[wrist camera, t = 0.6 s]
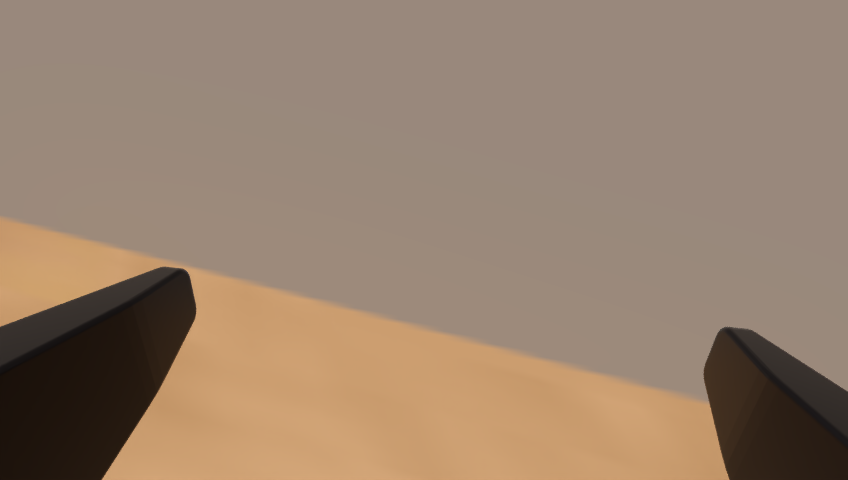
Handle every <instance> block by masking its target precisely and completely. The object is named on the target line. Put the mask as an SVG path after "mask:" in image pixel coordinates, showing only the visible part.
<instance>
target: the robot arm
mask: <svg viewBox="0 0 848 480" xmlns="http://www.w3.org/2000/svg"><path fill="white" fill-rule="evenodd" d="M195 316H196V303H195V299H194V294H193V289H192V285H191V280H190V276H189V274H188V272H187V271H186V270H184V269H181V268H172V267H160V268H157V269H154V270H152V271H149V272H146V273H144V274H141V275H138V276H136V277H133V278H130V279H127V280H125V281H122V282H119V283H117V284H114V285H111V286H109V287H106V288H103V289H101V290H98V291H95V292H93V293H90V294H87V295H84V296H82V297H79V298H76V299H74V300H71V301H68V302H66V303H63V304H60V305H58V306H55V307H52V308H49V309H47V310H44V311H41V312H39V313H36V314H33V315H31V316H28V317H25V318H23V319H20V320H17V321H15V322H12V323H9V324H6V325H4V326H1V327H0V480H102V479H103V477H104V475H105V474H106V472H107V471H108V469H109V468H110V466H111V465H112V463H113V461H114V460H115V458H116V457H117V455H118V454H119V452H120V451H121V449H122V447H123V446H124V444H125V443H126V441H127V440H128V438H129V437H130V435H131V434H132V432H133V430H134V429H135V427H136V426H137V424H138V423H139V421H140V420H141V418H142V416H143V415H144V413H145V412H146V410H147V409H148V407H149V406H150V404H151V402H152V401H153V399H154V397H155V396H156V394H157V392H158V391H159V389H160V387H161V385H162V383H163V381H164V380H165V378H166V376H167V374H168V372H169V370H170V368H171V366H172V364H173V362H174V360H175V358H176V356H177V354H178V352H179V350H180V348H181V346H182V344H183V342H184V340H185V338H186V336H187V334H188V332H189V330H190V328H191V326H192V324H193V322H194V320H195ZM704 381H705V386H706V390H707V394H708V398H709V403H710V407H711V411H712V415H713V419H714V424H715V428H716V432H717V436H718V440H719V445H720V449H721V453H722V457H723V460H724V464H725V468H726V471H727V474H728V477H729V480H848V391H846V390H844V389H843V388H841V387H840V386H838V385H837V384H835V383H833V382H832V381H830V380H829V379H827V378H826V377H824V376H823V375H821V374H819V373H818V372H816V371H815V370H813V369H812V368H810V367H808V366H807V365H805V364H804V363H802V362H801V361H799V360H798V359H796V358H794V357H792V356H791V355H790V354H788V353H787V352H785V351H784V350H782V349H780V348H779V347H777V346H775V345H774V344H773V343H771V342H770V341H768V340H766V339H765V338H763V337H762V336H760V335H759V334H757V333H756V332H754V331H752V330H749V329H743V328H733V327H724V328H722V329H720V331H719V332H718V334H717V336H716V338H715V341H714V343H713V346H712V348H711V351H710V353H709V356H708V358H707V361H706V363H705V367H704Z"/></svg>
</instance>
